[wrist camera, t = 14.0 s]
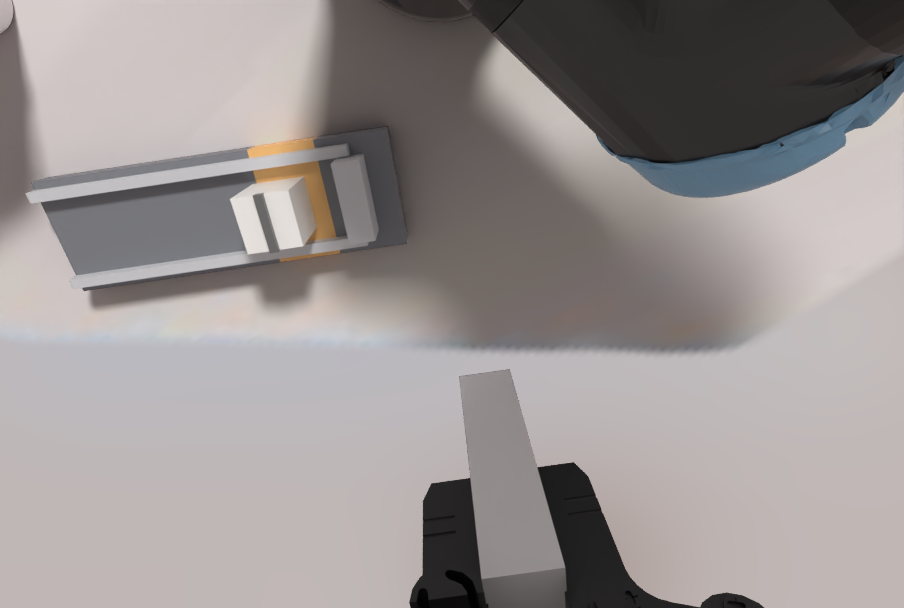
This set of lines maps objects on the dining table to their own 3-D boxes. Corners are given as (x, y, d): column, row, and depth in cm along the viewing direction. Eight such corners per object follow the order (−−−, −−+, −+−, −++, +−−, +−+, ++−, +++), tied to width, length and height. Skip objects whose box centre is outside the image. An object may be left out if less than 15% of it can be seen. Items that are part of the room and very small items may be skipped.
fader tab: (252, 183, 39) (227, 199, 34) (304, 175, 39) (286, 190, 34) (268, 234, 41) (246, 257, 36) (317, 227, 40) (302, 248, 36)
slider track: (48, 177, 40) (0, 190, 35) (387, 126, 40) (382, 133, 35) (97, 281, 44) (59, 306, 39) (407, 236, 43) (405, 255, 39)
